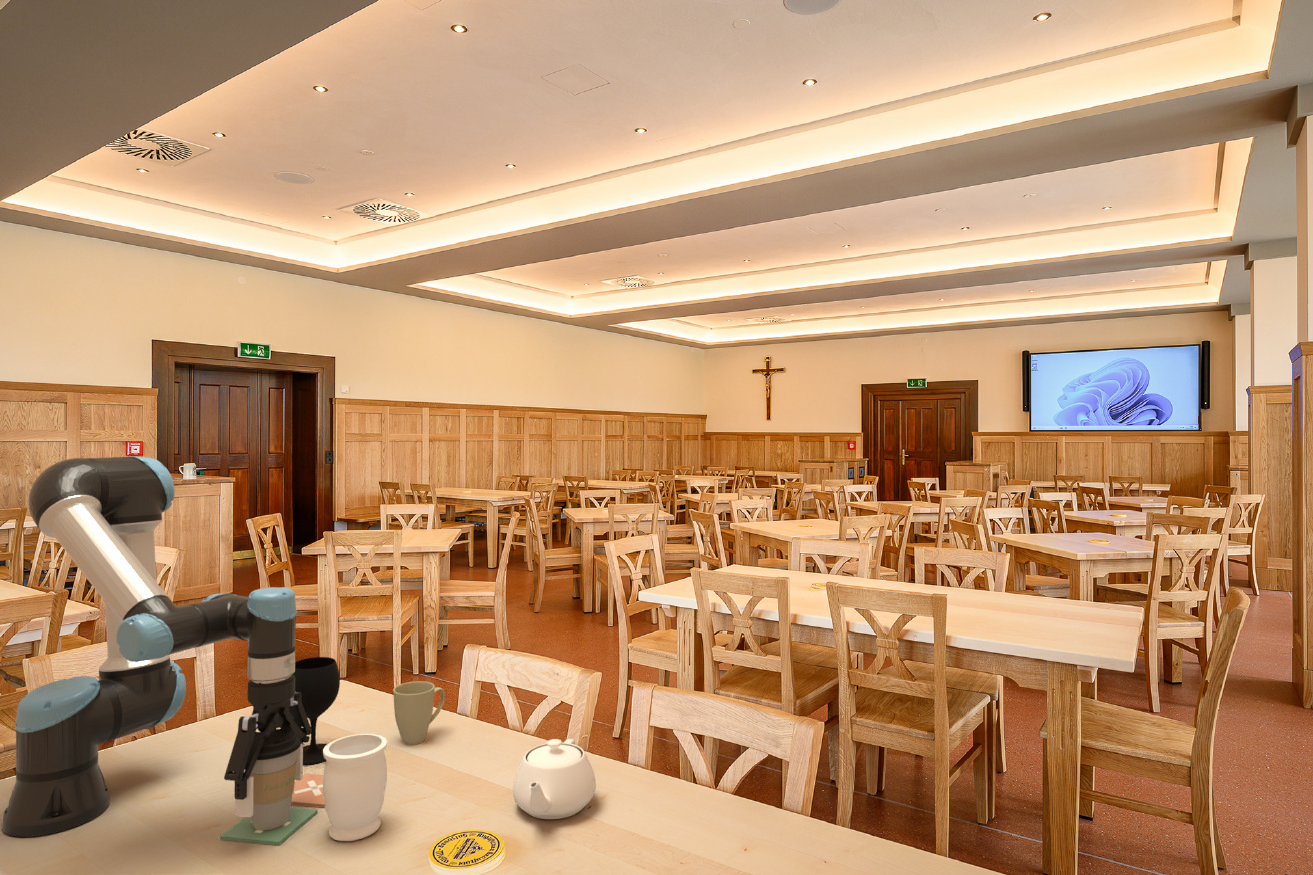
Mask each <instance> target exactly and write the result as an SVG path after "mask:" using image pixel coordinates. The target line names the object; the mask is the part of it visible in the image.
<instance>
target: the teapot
mask: <svg viewBox="0 0 1313 875" xmlns="http://www.w3.org/2000/svg"><path fill="white" fill-rule="evenodd" d="M596 788H597V782H596V776H595V772H594V769H593V767H592V763H591V762H590V760H589V758H588V756H587V754H586V752H585V750H584V749H583V748H582V747H581V746H578V745H576V741H575V739H573V738H568V739H567V738H566V739H565V741H564V742H563V741H562V740H561V739H558V738H553V739H549V740H547V742H546V743H543V744H539V745H535V746H534V747H532V748H530V749H528V750H527V751H526V752H525V753H524V755H523V757H522V759H521V761H520V764H519V765H518V768H517V771H516V773H515V777H514V780H513V785H512V796H513V799H514V801H515V803H516V804H517V805H518V807H519V808H520V809H522V810H523V811H524V812H526V814H528V815H529V816H532V817H533V818H537V819H541V820H542V819H543V820H558V819H559V820H560V819H565V818H569V817H571V816H574V815H576V814H578V813H579V812H581V811H582V810H583V809H584V807H586V806H587V805H588V803H590V801H591V800H592V798H594V795H595V792H596Z"/></svg>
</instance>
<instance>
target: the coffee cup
mask: <svg viewBox="0 0 1313 875" xmlns="http://www.w3.org/2000/svg"><path fill="white" fill-rule="evenodd" d="M300 746H301V743H300V739H299V737H297V736H296V733H295V732H294V731H293V730H289V729H281V728H276V729H275V730H274V731H273V732H272V733H271V734H270V736H269V738H268V739H266V740H265V741H264V744H263V746H262V748H261V751H260V753H259V756H258V758H257V760H256V763H255V765H254V767H253V770H252V772H251V774H250V776H251V777H253V816H251V819H252V826H253V827H254V828H255V829H257V830H271V829H275V828H277V827H280V826H282V825H284V824H285V823H287V822H288V821H289V818H290V809H291V807H292V805H291V801H292V794H293V791H294V783H295V781H296V780H295V774H296V766H297V759H296V758H297V749H298V748H299V747H300Z"/></svg>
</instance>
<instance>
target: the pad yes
mask: <svg viewBox="0 0 1313 875" xmlns="http://www.w3.org/2000/svg"><path fill="white" fill-rule="evenodd" d="M318 813H319V810H318V809H313V808H303V807H292V806H291V809H290V818H289V821H288V822H287V823H285V824H284V825H282V826H280V827H277V828H275V829H271V830H257V829H255V828H254V827H253V826H252V819H251V817H243V819H242V820H240V821H239V822H238V823H236V824H234V825H233V826H232V827H231V828H229V829H228V830H227V831H225V832H224V833H222V834H220V836H219V840H220V841H229V842H238V843H239V842H240V843H249V844H261V845H269V846H270V845H271V846H280V845H281V844H283V843H284V842H285V841H286V840H288V838H290V837H291V836H293V834H295V833H296V832H297V831H299V830H300V828H302V827H303V826H304V825H305V824H306V823H308V822H309V821H310V820H311V819H312V818H313V817H315V816H316V815H317V814H318Z"/></svg>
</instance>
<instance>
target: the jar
mask: <svg viewBox="0 0 1313 875" xmlns="http://www.w3.org/2000/svg"><path fill="white" fill-rule="evenodd" d="M326 744H327V745H326V746H325V747H324V749H323V756H324V758H325V759H326V762H324V767H323V768H324V769H323V774H322V775H323V795H324V800H325V807H324V808H325V811H326V817H327V818H328V820H329V823H330V824H331V825H330V827H329V829H328V835H329V837H330V838H331V839H332V840H335V841H339V842H353V841H359V840H362V839H365V838H367V837H369V836H371V835H372V834H375V832H377V830H378V829H379V828H380V827H381V824H382V822H381V819H380V817H379V815H380V813H381V811H382V808H383V805H384V800H385V792H386V789H387V783H388V782H387V781H388V766H387V765H388V764H387V757H386V754H385V751H386V750H387V747H388V741H387V738H386V737H384V736H383V735H379V734H376V733H359V734H351V735H346V736H343V737H339V738H337V739H334V740H332V741H330V742H329V743H326Z"/></svg>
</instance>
